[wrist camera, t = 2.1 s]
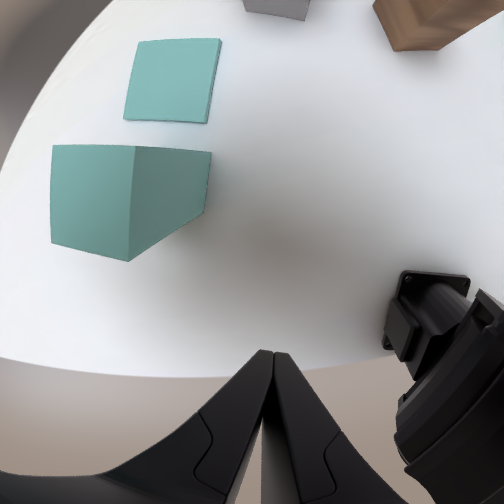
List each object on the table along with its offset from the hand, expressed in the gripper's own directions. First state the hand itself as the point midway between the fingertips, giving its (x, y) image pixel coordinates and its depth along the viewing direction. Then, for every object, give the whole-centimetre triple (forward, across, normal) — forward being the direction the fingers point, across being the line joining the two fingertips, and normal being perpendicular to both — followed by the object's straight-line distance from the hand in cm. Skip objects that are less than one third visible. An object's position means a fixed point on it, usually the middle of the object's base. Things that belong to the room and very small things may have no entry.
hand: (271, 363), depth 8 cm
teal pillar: (+12, +7, -4) cm, 14 cm away
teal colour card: (+12, +9, -11) cm, 18 cm away
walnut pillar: (+12, -7, -18) cm, 22 cm away
